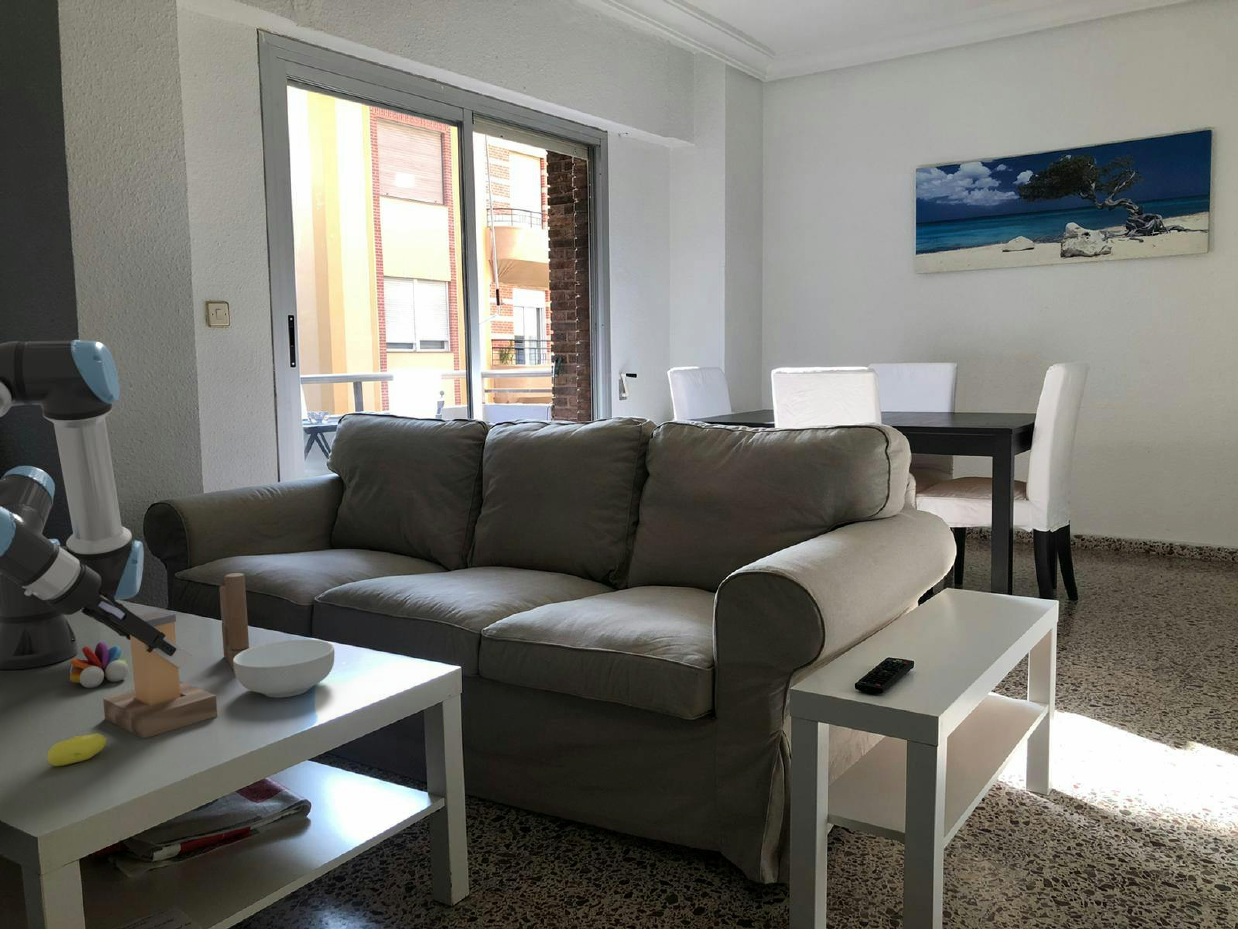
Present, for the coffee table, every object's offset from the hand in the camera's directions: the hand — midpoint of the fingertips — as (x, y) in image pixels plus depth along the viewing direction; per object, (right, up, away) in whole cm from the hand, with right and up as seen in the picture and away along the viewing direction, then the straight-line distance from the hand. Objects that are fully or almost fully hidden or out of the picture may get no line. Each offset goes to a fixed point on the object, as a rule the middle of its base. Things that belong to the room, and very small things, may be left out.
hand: (177, 658), depth 161 cm
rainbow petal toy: (-22, -8, +17) cm, 29 cm away
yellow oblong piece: (-6, -12, -19) cm, 23 cm away
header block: (-2, -9, -2) cm, 10 cm away
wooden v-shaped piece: (-1, -6, +27) cm, 28 cm away
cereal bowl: (+15, -8, +10) cm, 20 cm away
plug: (-2, -6, -2) cm, 7 cm away
